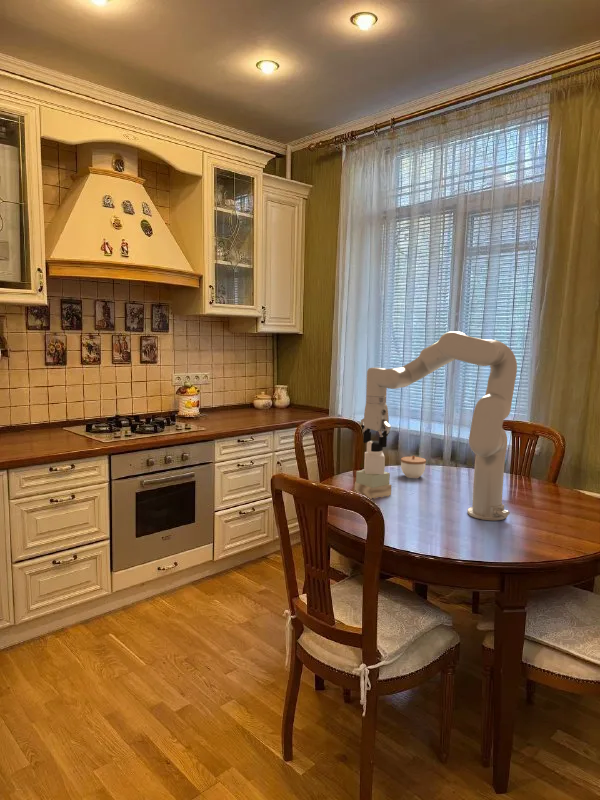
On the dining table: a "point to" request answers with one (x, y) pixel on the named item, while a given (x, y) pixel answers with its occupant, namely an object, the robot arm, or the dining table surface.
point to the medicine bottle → (374, 459)
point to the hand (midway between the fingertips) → (374, 444)
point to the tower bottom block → (373, 490)
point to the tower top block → (372, 479)
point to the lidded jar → (413, 466)
